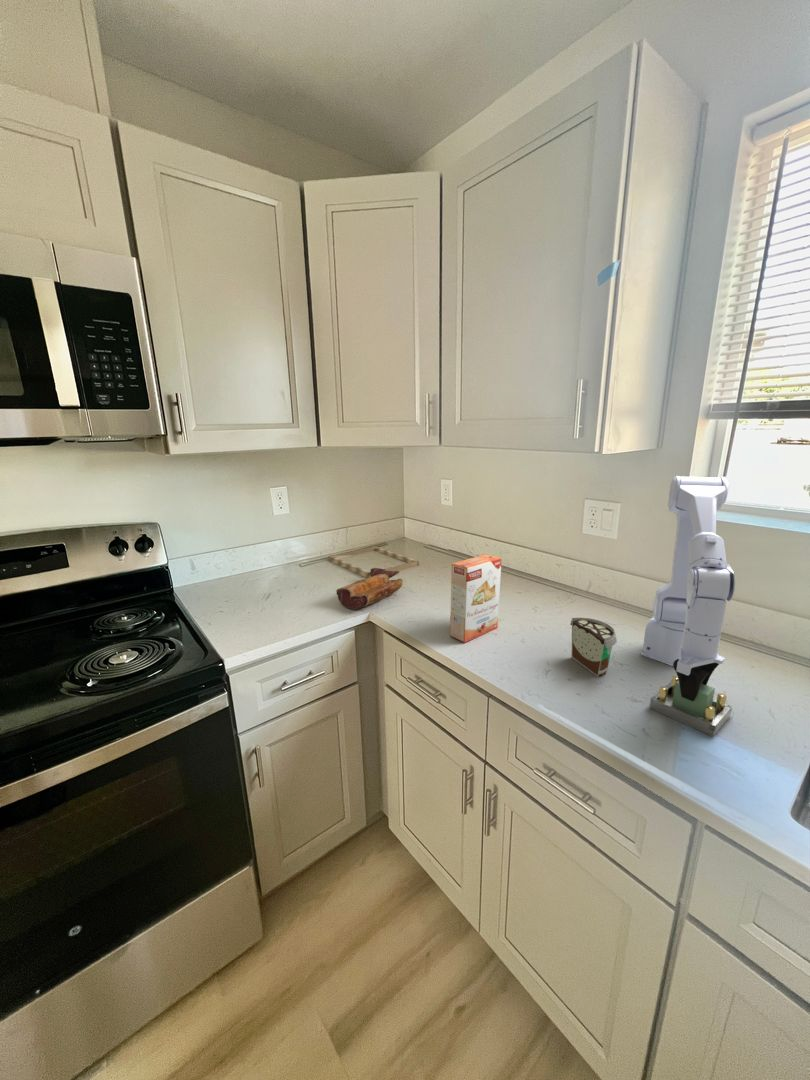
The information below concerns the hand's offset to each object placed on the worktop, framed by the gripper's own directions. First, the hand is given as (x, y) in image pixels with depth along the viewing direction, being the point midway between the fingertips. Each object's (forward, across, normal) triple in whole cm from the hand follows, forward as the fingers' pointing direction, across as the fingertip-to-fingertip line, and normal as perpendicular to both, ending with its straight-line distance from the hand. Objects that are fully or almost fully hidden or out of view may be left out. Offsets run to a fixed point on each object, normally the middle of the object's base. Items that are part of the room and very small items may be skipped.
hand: (692, 694), depth 85 cm
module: (+3, 0, 0) cm, 3 cm away
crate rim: (+4, +8, +121) cm, 121 cm away
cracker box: (+4, -6, +51) cm, 52 cm away
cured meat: (-3, -12, +91) cm, 92 cm away
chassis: (+4, 0, 0) cm, 4 cm away
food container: (+4, +3, +21) cm, 22 cm away
